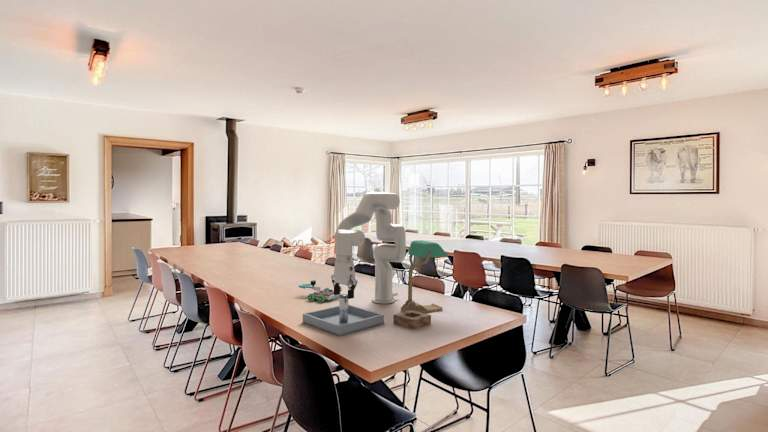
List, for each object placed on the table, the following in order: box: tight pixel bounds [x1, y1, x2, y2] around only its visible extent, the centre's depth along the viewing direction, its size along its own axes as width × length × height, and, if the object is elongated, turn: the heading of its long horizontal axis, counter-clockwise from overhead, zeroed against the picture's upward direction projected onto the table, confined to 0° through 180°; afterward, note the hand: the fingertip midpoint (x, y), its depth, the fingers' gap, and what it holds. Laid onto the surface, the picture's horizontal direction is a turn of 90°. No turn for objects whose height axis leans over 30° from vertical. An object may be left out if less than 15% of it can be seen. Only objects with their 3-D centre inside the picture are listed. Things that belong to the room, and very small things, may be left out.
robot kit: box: [298, 279, 343, 303], centre depth 240 cm, size 19×25×9 cm
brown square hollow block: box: [392, 310, 432, 330], centre depth 193 cm, size 12×12×4 cm
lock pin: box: [338, 293, 349, 323], centre depth 192 cm, size 4×4×12 cm
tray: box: [302, 303, 385, 337], centre depth 192 cm, size 26×26×4 cm
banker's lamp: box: [400, 240, 449, 314], centre depth 215 cm, size 16×21×35 cm
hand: (343, 296), depth 192 cm, fingers open, 9 cm apart
